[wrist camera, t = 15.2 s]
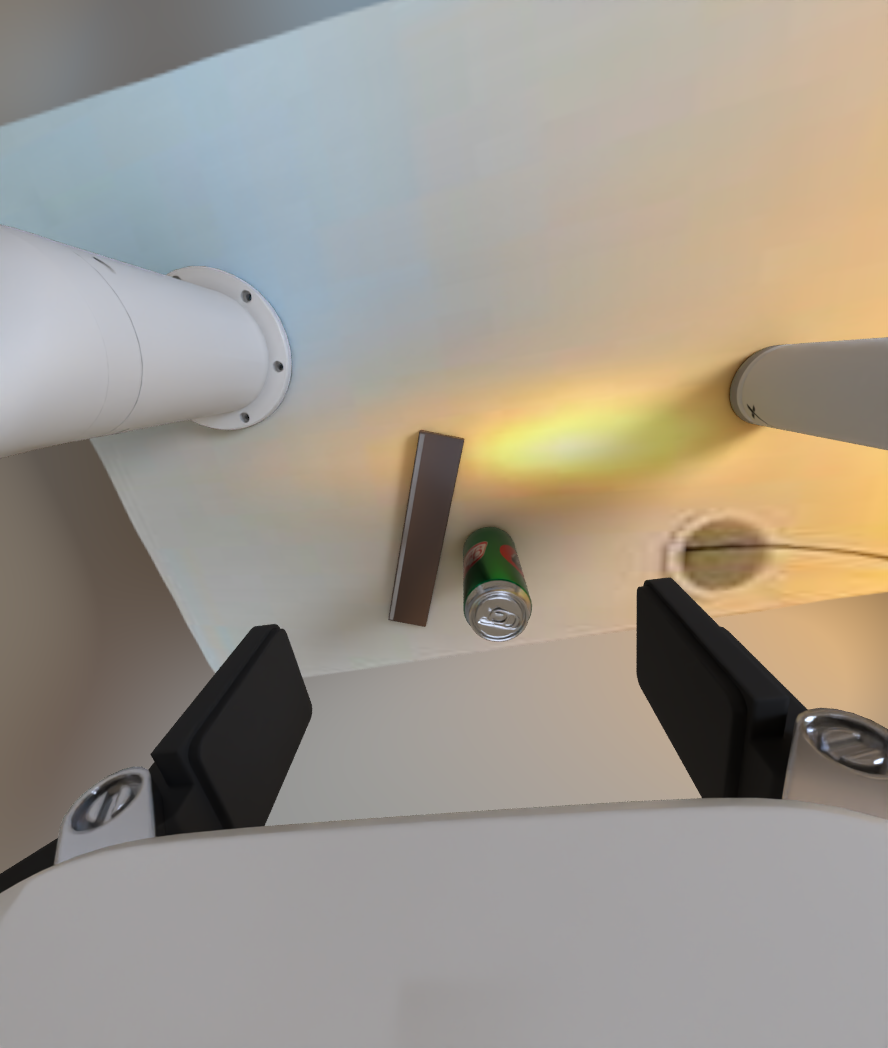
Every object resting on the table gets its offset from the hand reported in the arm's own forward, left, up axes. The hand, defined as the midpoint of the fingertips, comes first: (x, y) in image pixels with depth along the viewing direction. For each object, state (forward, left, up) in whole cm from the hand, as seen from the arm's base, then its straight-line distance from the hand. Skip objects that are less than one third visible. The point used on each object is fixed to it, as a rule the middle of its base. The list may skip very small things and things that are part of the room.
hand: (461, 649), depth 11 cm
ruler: (-2, -9, -28) cm, 30 cm away
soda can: (+5, -9, -28) cm, 30 cm away
